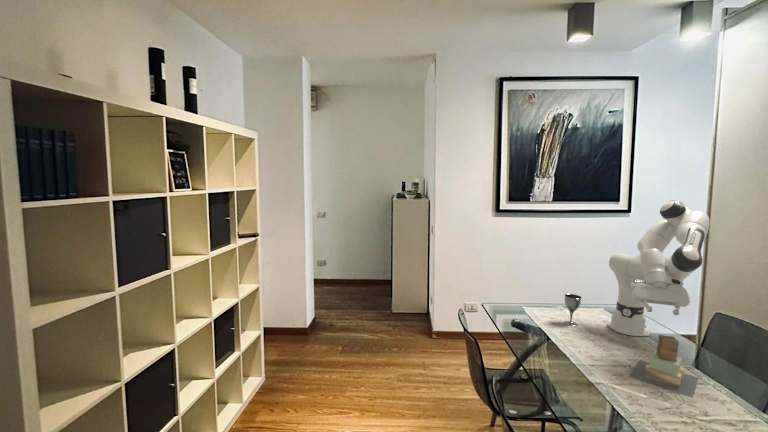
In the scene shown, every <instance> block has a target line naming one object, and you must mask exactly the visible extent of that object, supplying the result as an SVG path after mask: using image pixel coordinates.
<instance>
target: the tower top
mask: <svg viewBox="0 0 768 432" xmlns="http://www.w3.org/2000/svg"><path fill="white" fill-rule="evenodd" d="M682 359H683V358H682V357H680V356H677V360H676V362H674V361H667V360H661V359H660V358H659V356H658V355H657V350H653V352H652V354H651V355H650V357H649V361H650V363H649V367H650V368H653V369H657V370H660V371H663V372H666V373H670V374H673V375H676V376H678V373H679V371H680V368H681V367H682Z"/></svg>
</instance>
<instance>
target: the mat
mask: <svg viewBox="0 0 768 432" xmlns="http://www.w3.org/2000/svg"><path fill="white" fill-rule="evenodd" d="M648 362H649V361H648ZM648 362H647V361H644V360H641V359H639V360H638V361H637V362H636V365H635V366H634V368H633V369H632V370H631V372H630V373H629V375H628V378H631V379H635V380H637V381H641V382H643V383H646V384H650V385H653V386H656V387H659V388H662V389H665V390H668V391H671V392H673V393H678V394H679V395H683V396H686V397H690V398H694V395H695V391H696V388H697V386H698V382H699V378H700V377H698V376H695V375H691V374H688V373H684V374H683V379H682V382H681V384H680V387H679V388H678V387H675V386H671V385H668V384H665V383H662V382H659V381H656V380H653V379H650V378H647V377H644V376H645V367H646V365H647V364H648Z"/></svg>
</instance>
